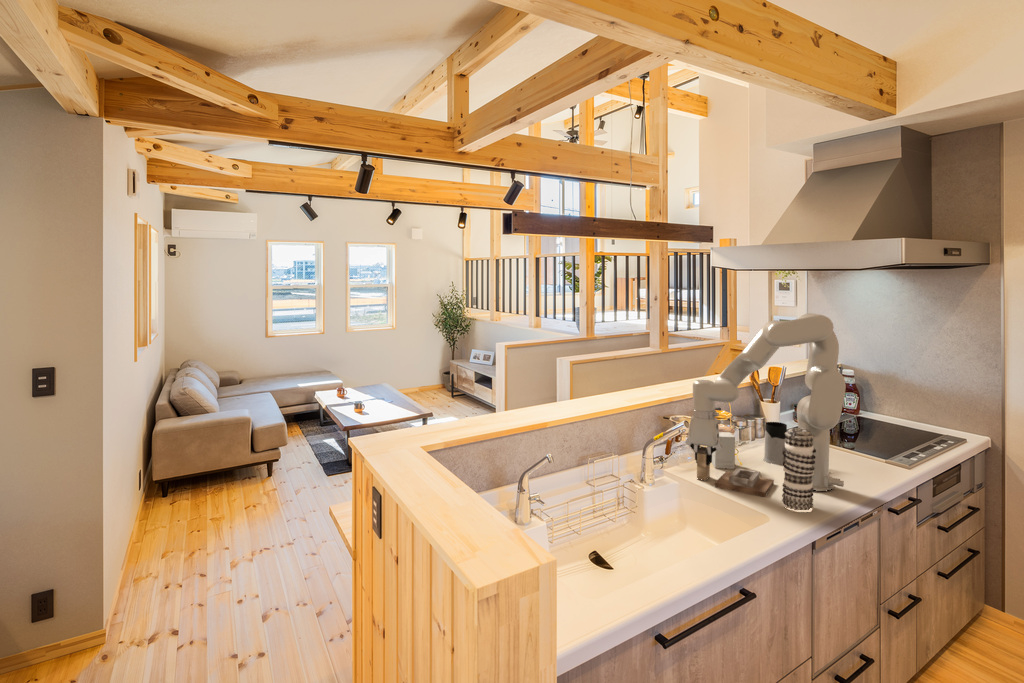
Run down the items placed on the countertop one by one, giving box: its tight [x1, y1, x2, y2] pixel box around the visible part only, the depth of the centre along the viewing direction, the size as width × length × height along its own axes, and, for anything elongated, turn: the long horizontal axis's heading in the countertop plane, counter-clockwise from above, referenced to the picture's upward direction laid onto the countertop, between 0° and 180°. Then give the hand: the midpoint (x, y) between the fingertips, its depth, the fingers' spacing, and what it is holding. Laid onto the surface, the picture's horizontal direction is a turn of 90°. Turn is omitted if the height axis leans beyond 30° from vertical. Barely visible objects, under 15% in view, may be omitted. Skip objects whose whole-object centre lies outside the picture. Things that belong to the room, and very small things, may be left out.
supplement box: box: [711, 431, 736, 470], centre depth 198 cm, size 7×7×13 cm
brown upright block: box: [696, 446, 711, 481], centre depth 185 cm, size 3×5×11 cm, turn 142°
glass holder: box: [762, 421, 788, 465], centre depth 201 cm, size 9×14×15 cm, turn 70°
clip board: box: [714, 467, 775, 498], centre depth 178 cm, size 16×14×4 cm
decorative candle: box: [781, 427, 816, 510], centre depth 158 cm, size 9×9×25 cm
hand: (703, 462), depth 185 cm, fingers closed on brown upright block, 3 cm apart
